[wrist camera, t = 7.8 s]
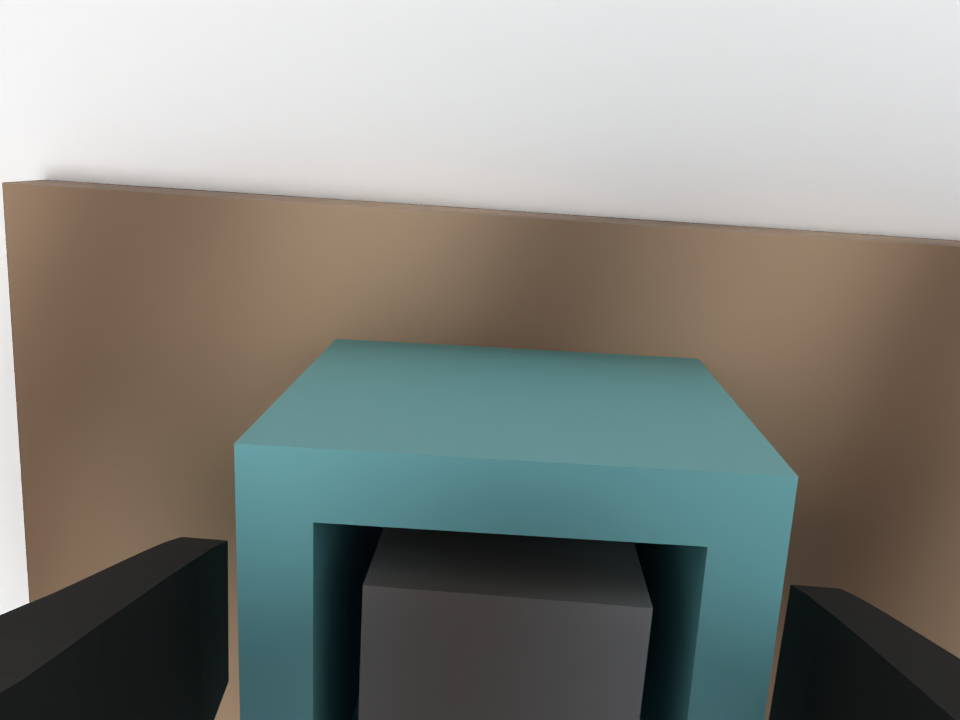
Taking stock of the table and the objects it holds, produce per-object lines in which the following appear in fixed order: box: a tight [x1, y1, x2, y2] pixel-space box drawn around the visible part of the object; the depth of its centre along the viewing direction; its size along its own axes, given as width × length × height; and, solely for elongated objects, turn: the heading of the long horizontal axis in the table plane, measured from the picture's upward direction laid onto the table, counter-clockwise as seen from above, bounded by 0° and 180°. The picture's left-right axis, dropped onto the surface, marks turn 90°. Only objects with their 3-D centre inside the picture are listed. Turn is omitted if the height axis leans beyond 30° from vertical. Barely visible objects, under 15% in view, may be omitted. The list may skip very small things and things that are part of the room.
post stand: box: [2, 180, 960, 720], centre depth 12 cm, size 16×10×6 cm, turn 87°
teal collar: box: [234, 339, 798, 720], centre depth 12 cm, size 6×6×5 cm
